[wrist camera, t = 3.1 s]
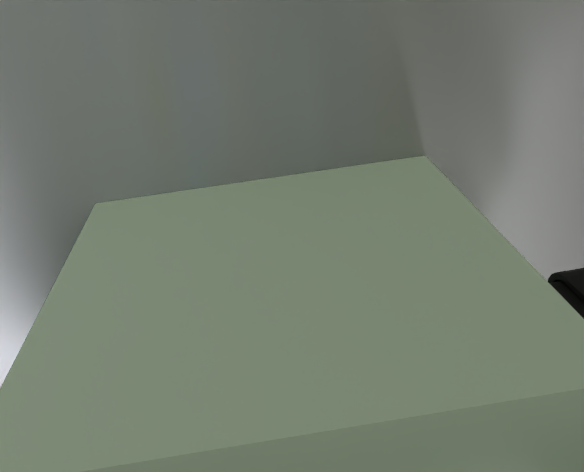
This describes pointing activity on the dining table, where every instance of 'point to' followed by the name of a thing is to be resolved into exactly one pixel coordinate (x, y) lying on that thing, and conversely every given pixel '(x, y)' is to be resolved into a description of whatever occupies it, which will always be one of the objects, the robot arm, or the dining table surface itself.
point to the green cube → (298, 337)
